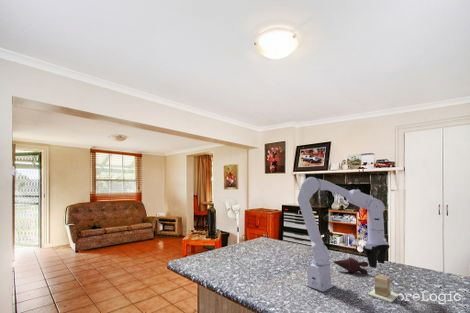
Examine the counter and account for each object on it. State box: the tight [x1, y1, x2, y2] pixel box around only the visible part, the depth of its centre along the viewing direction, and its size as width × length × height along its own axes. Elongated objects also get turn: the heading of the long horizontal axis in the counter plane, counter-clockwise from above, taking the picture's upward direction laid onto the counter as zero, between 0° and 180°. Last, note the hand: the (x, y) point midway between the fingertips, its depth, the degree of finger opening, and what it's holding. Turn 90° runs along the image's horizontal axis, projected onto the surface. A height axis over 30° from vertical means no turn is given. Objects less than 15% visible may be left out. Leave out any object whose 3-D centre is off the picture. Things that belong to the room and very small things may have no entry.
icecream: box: [333, 257, 369, 275], centre depth 121 cm, size 7×7×15 cm
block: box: [373, 274, 392, 297], centre depth 96 cm, size 4×4×6 cm
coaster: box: [367, 288, 400, 304], centre depth 96 cm, size 8×8×1 cm
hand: (377, 265), depth 100 cm, fingers open, 7 cm apart
